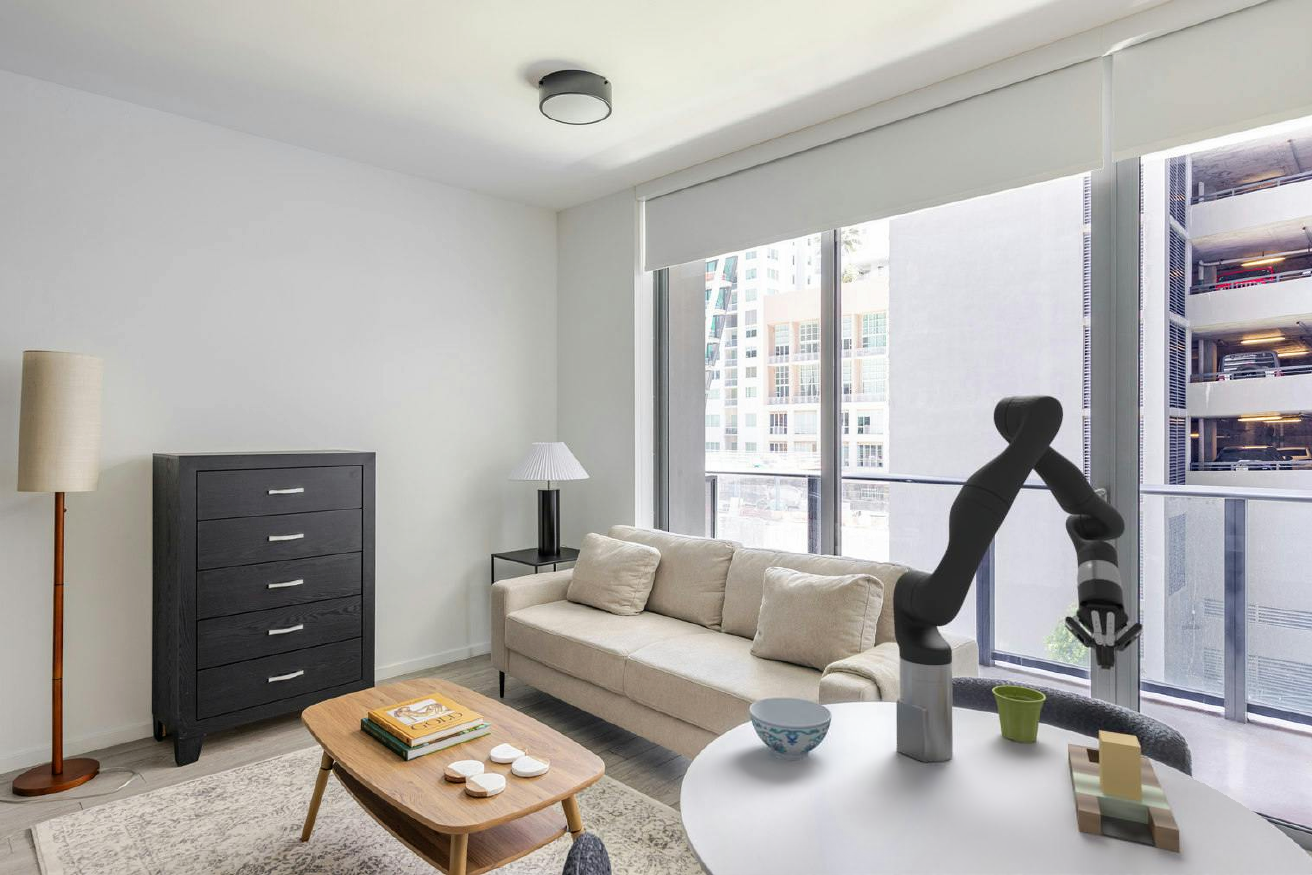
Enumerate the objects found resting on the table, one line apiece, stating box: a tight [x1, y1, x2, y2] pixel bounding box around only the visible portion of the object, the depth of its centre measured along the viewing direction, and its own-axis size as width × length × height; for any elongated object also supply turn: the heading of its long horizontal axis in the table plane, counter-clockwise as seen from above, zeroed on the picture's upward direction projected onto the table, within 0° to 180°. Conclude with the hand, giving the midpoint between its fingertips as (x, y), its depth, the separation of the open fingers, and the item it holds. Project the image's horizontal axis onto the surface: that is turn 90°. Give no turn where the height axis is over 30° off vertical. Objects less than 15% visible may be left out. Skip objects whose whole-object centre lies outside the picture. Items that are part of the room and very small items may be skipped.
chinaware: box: [749, 696, 832, 761], centre depth 130 cm, size 15×15×8 cm
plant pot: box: [991, 685, 1047, 744], centre depth 139 cm, size 9×9×9 cm
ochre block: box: [1098, 729, 1142, 801], centre depth 110 cm, size 5×5×8 cm
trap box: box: [1067, 743, 1181, 853], centre depth 113 cm, size 28×12×3 cm, turn 152°
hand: (1106, 666), depth 128 cm, fingers closed
